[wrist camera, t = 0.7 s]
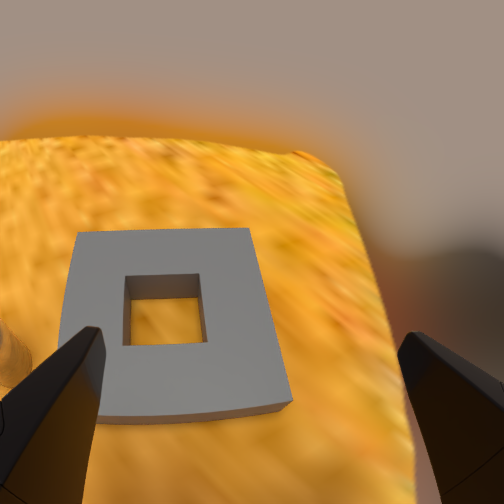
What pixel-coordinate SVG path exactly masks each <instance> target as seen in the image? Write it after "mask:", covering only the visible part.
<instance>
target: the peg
mask: <svg viewBox="0 0 504 504" xmlns="http://www.w3.org/2000/svg"><path fill="white" fill-rule="evenodd" d="M31 369H32V357H31V354H30V352H29V350H28V348H27V347H26V346H25V345H24V344H23V343H22V342H21V341H20V340H19V339H18V337H17V336H16V335H15V334H14V333H13V332H12V331H11V330H10V329H9V327H8V326H7V325H6V324H5V323H4V322H3V320H2V319H1V318H0V384H2V385H3V386H5V387H8V388H14V387H15V386H16V385H18V384H19V383H20V382H21V381H22V380H23V379H24V378H25V377H27V376H28V375H29V374H30V373H31Z"/></svg>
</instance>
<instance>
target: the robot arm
mask: <svg viewBox="0 0 504 504" xmlns="http://www.w3.org/2000/svg"><path fill="white" fill-rule="evenodd" d="M397 356H398V360H399V364H400V367H401V371H402V375H403V378H404V382H405V386H406V389H407V393H408V396H409V399H410V402H411V405H412V408H413V410H414V413H415V416H416V419H417V422H418V425H419V427H420V431H421V434H422V436H423V439H424V443H425V446H426V449H427V452H428V455H429V459H430V462H431V465H432V469H433V472H434V475H435V479H436V483H437V486H438V490H439V493H440V496H441V497H440V498H441V502H442V504H504V384H503V383H502V382H499V380H497V379H495V378H494V377H493V376H491V375H489V374H488V373H486V372H485V371H483V370H481V369H480V368H478V367H477V366H475V365H474V364H472V363H470V362H469V361H467V360H466V359H464V358H463V357H461V356H459V355H458V354H456V353H454V352H453V351H451V350H450V349H448V348H446V347H445V346H443V345H442V344H440V343H438V342H437V341H435V340H434V339H432V338H430V337H429V336H427V335H425V334H424V333H422V332H420V331H411V332H409V333H407V335H406V336H405V338H404V340H403V342H402V344H401V346H400V348H399V349H398V354H397ZM105 362H106V347H105V342H104V338H103V333H102V330H101V328H99V327H94V326H85V327H84V328H83V329H82V330H80V331H79V332H78V333H77V334H75V335H74V336H73V337H72V338H71V339H70V340H68V341H67V342H66V343H65V344H64V345H62V346H61V347H60V348H59V349H58V350H56V351H55V352H54V353H53V354H52V355H51V356H49V357H48V358H47V359H46V360H45V361H44V362H43V363H41V364H40V365H39V366H38V367H37V368H36V369H34V370H33V371H32V372H31V373H30V374H29V375H28V376H27V377H25V378H24V379H23V380H22V381H21V382H20V383H19V384H18V385H16V386H15V387H14V388H13V389H12V390H11V391H10V392H9V393H8V394H6V395H5V396H4V397H3V398H2V400H1V401H0V504H82V500H83V492H84V485H85V479H86V472H87V467H88V461H89V455H90V450H91V445H92V440H93V435H94V430H95V425H96V421H97V416H98V412H99V407H100V400H101V392H102V384H103V376H104V369H105Z"/></svg>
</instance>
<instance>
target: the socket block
mask: <svg viewBox="0 0 504 504" xmlns="http://www.w3.org/2000/svg"><path fill="white" fill-rule="evenodd" d="M189 297H198V304H199V312H200V321H201V329H202V337H203V343H189V344H169V345H138V346H130V316H131V299H164V298H189ZM85 326H94V327H99V328H101V330H102V333H103V338H104V342H105V347H106V362H105V369H104V376H103V384H102V392H101V400H100V407H99V412H98V416H97V421H96V424H129V425H138V424H173V423H189V422H202V421H213V420H222V419H231V418H239V417H246V416H253V415H259V414H266V413H272V412H277V411H280V410H282V409H283V408H284V407H285V406H287V405H288V404H289V403H290V402H292V401H293V398H292V394H291V390H290V386H289V382H288V378H287V374H286V370H285V366H284V362H283V359H282V355H281V351H280V347H279V343H278V339H277V335H276V331H275V327H274V323H273V319H272V315H271V312H270V308H269V304H268V300H267V296H266V292H265V288H264V284H263V280H262V276H261V273H260V269H259V265H258V261H257V257H256V253H255V249H254V245H253V241H252V238H251V234H250V230H249V228H204V229H159V230H125V231H97V232H78V233H77V237H76V241H75V246H74V250H73V254H72V259H71V264H70V268H69V273H68V279H67V284H66V289H65V295H64V301H63V308H62V315H61V322H60V330H59V339H58V349H59V348H60V347H61V346H62V345H64V344H65V343H66V342H67V341H68V340H70V339H71V338H72V337H73V336H74V335H75V334H77V333H78V332H79V331H80V330H82V329H83V328H84V327H85ZM58 349H57V350H58Z"/></svg>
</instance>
